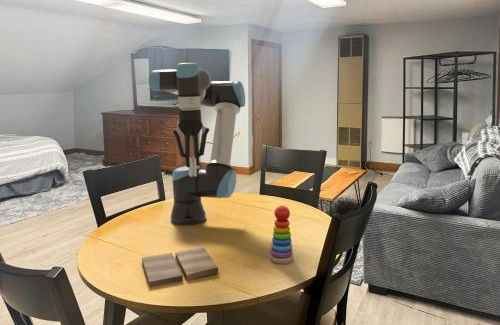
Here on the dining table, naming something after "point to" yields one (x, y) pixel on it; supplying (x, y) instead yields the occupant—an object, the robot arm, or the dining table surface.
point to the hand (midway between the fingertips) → (192, 175)
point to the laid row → (161, 270)
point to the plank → (196, 263)
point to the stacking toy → (281, 237)
